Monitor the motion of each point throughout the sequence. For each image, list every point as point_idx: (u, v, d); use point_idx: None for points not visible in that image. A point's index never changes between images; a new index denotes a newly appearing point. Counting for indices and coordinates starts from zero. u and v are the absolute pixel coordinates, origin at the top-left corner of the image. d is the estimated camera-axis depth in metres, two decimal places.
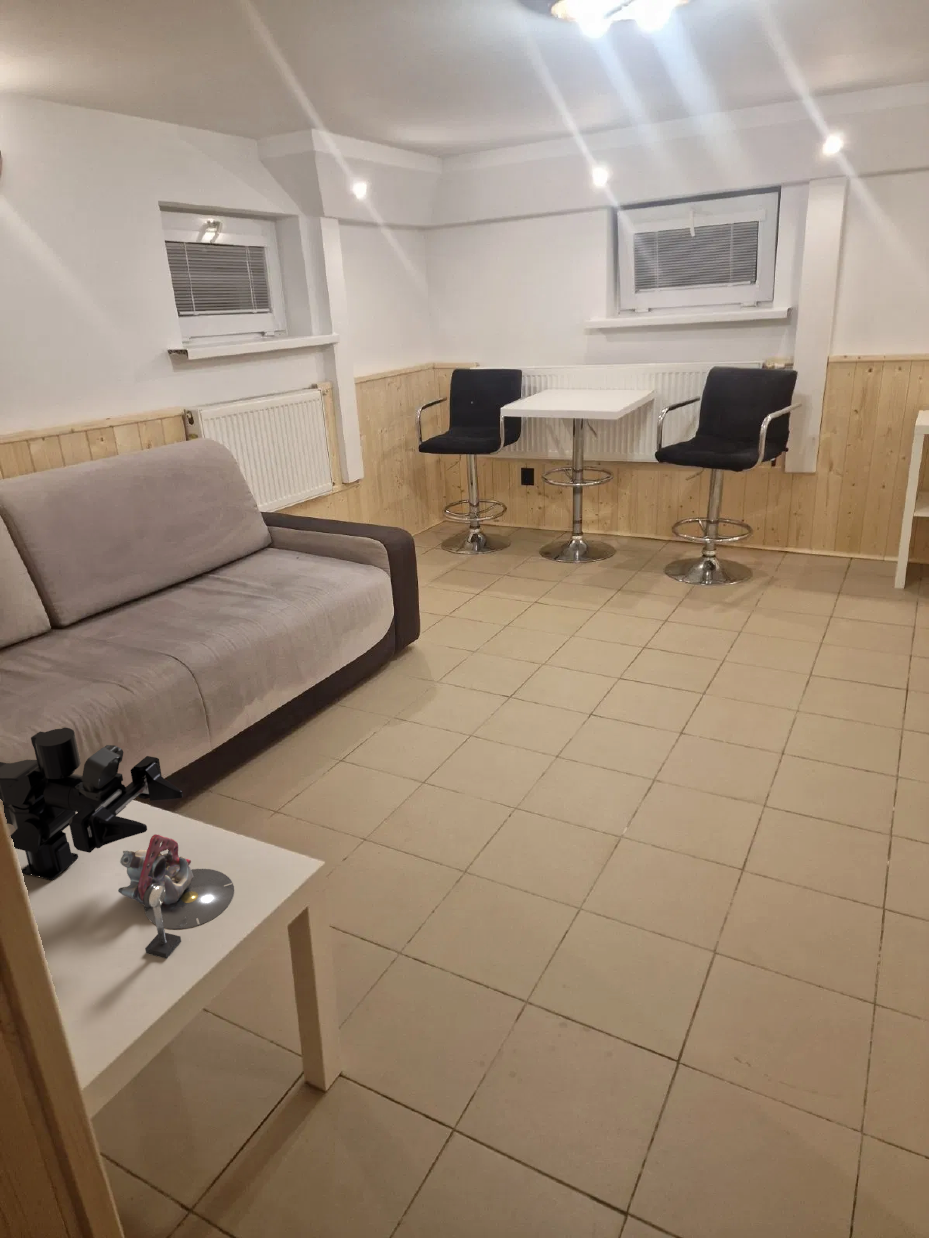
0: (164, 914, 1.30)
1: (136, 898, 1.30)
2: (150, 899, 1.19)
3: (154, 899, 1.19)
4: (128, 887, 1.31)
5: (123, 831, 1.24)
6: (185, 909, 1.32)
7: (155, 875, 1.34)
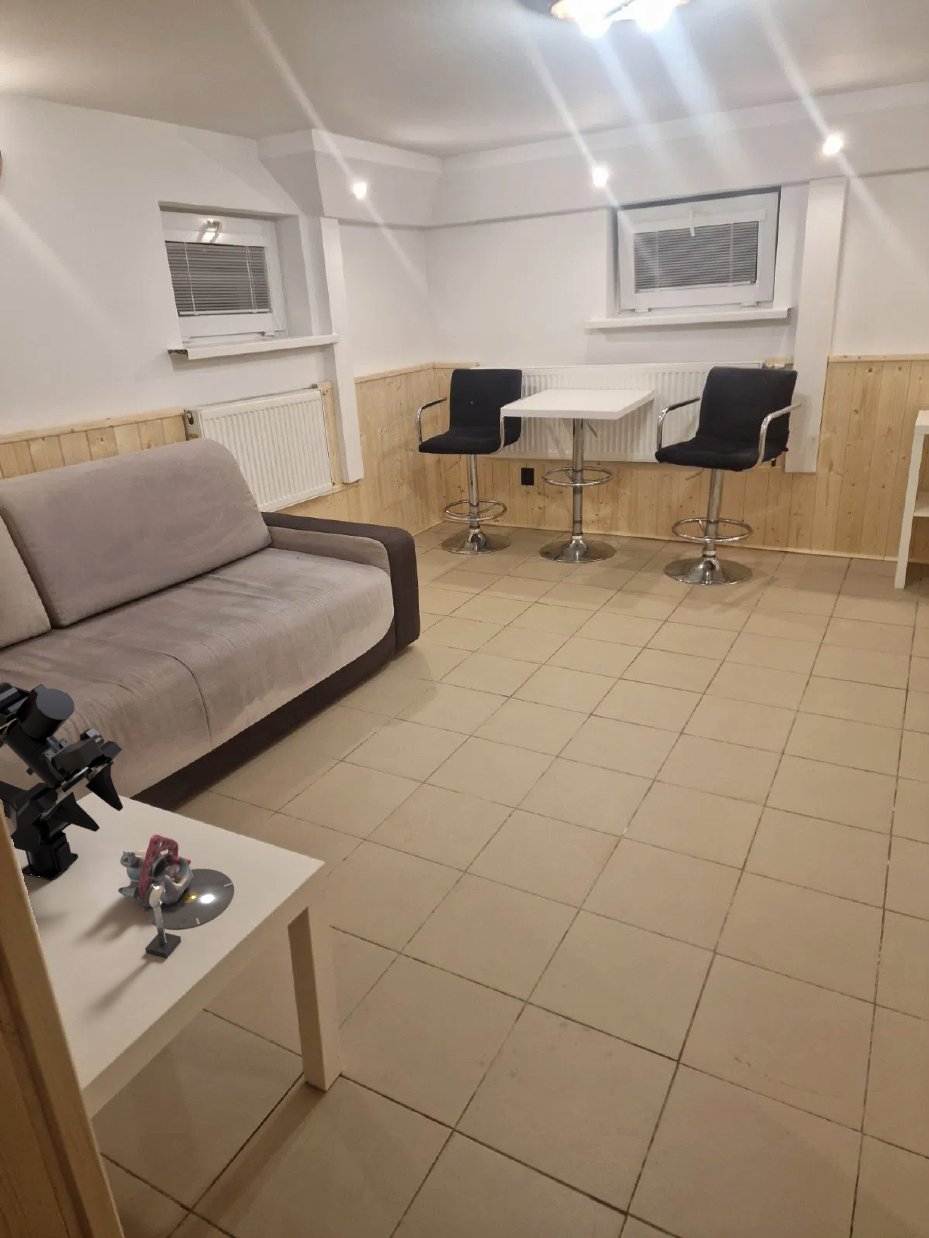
0: (164, 914, 1.30)
1: (136, 898, 1.30)
2: (150, 899, 1.19)
3: (154, 899, 1.19)
4: (128, 887, 1.31)
5: (76, 820, 1.29)
6: (185, 909, 1.32)
7: (155, 875, 1.34)
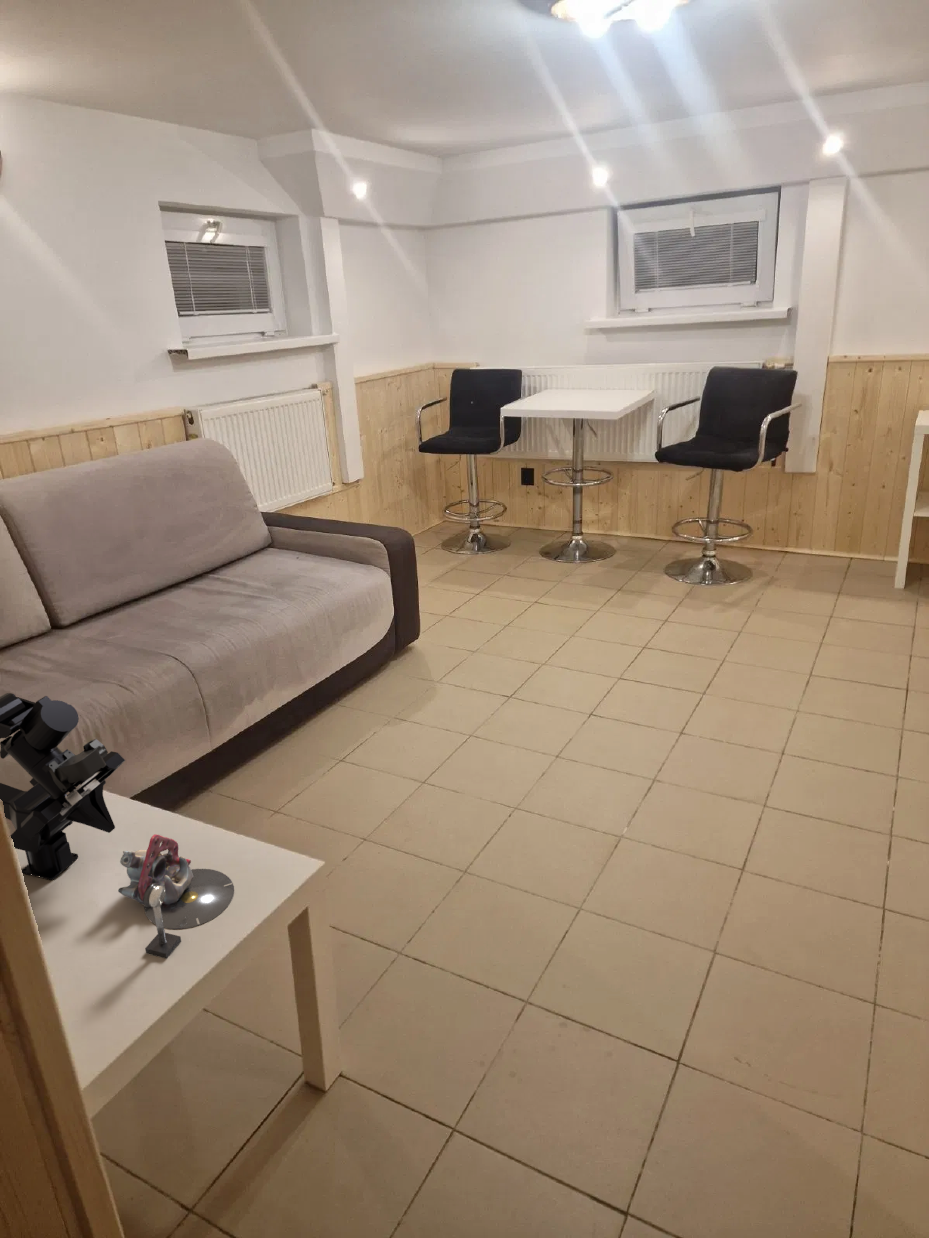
0: (164, 914, 1.30)
1: (136, 898, 1.30)
2: (150, 899, 1.19)
3: (154, 899, 1.19)
4: (128, 887, 1.31)
5: (91, 822, 1.32)
6: (185, 909, 1.32)
7: (155, 875, 1.34)
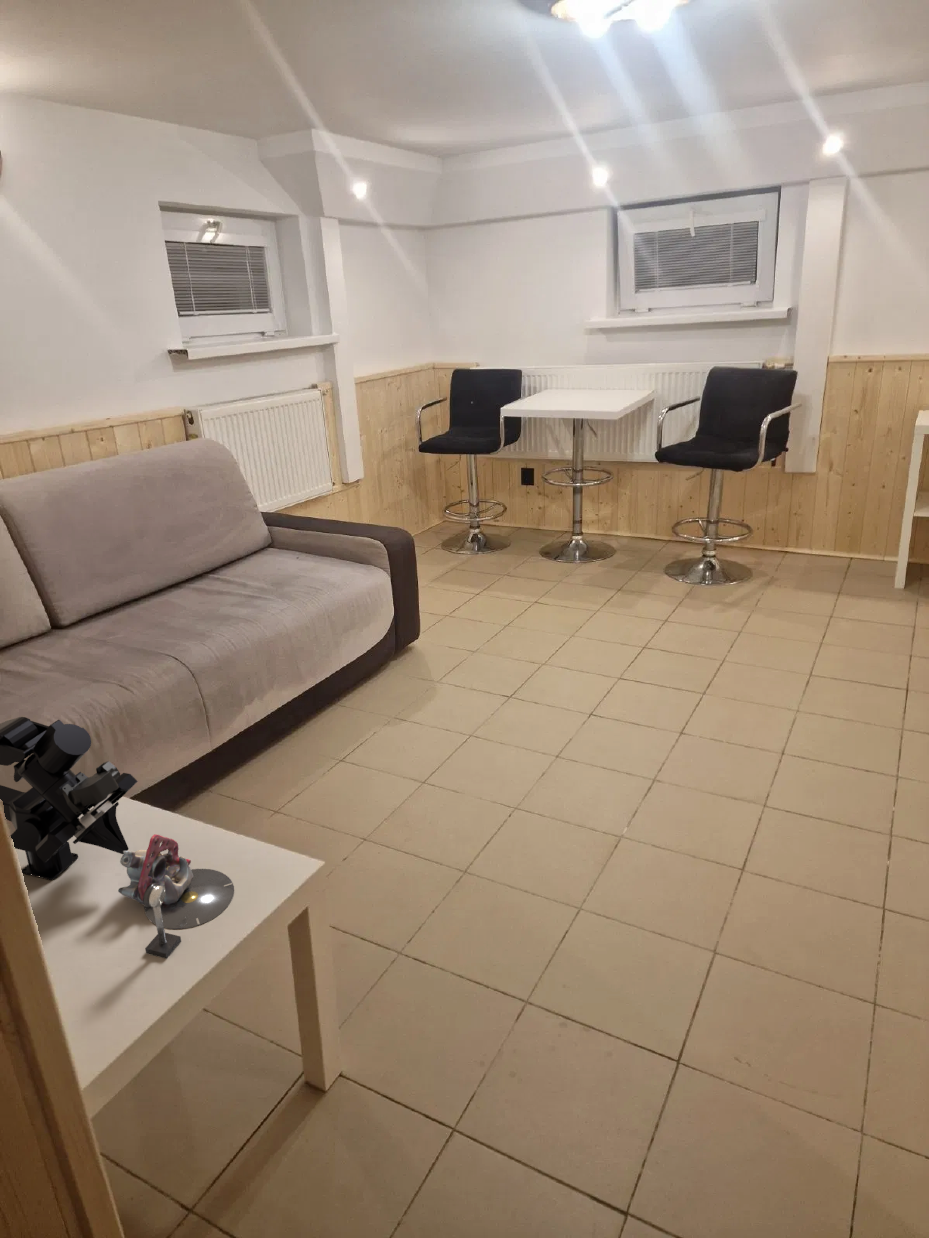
0: (164, 914, 1.30)
1: (136, 898, 1.30)
2: (150, 899, 1.19)
3: (154, 899, 1.19)
4: (128, 887, 1.31)
5: (104, 843, 1.33)
6: (185, 909, 1.32)
7: (155, 875, 1.34)
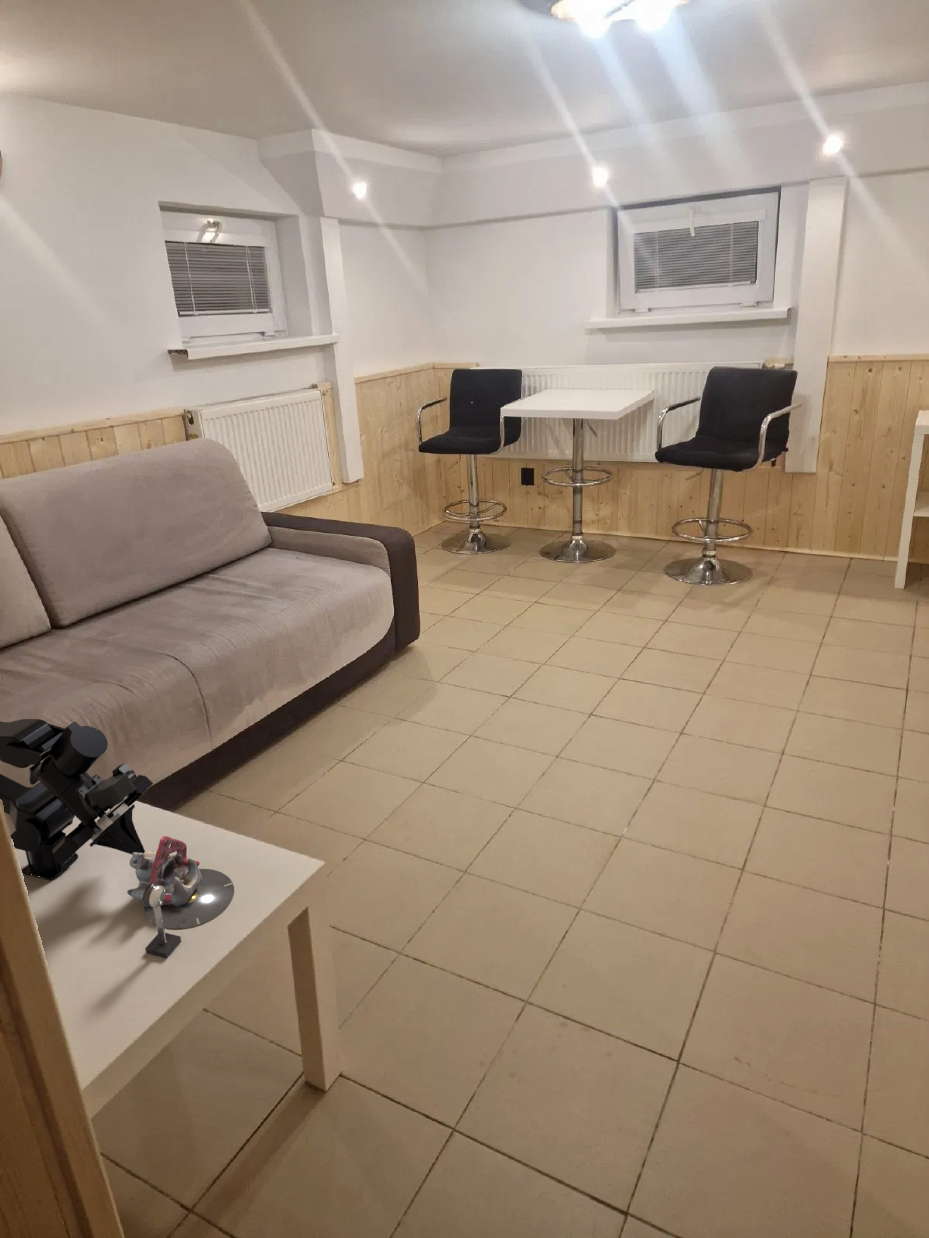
0: (164, 914, 1.30)
1: None
2: (150, 899, 1.19)
3: (154, 899, 1.19)
4: (137, 889, 1.31)
5: (121, 846, 1.32)
6: (185, 909, 1.32)
7: (163, 877, 1.34)
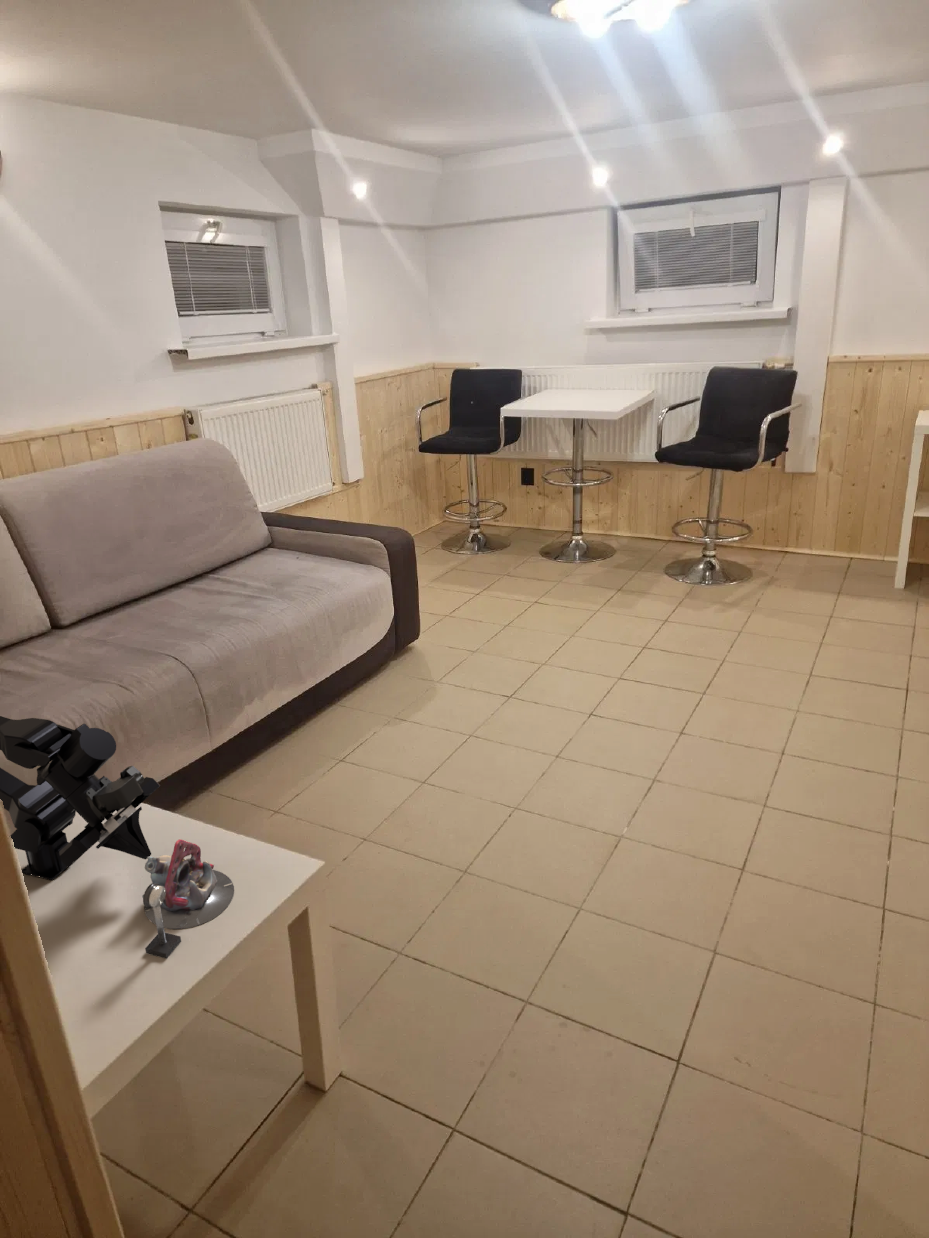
0: (164, 914, 1.30)
1: (161, 904, 1.29)
2: (150, 899, 1.19)
3: (154, 899, 1.19)
4: None
5: (127, 848, 1.32)
6: (185, 909, 1.32)
7: (178, 880, 1.33)
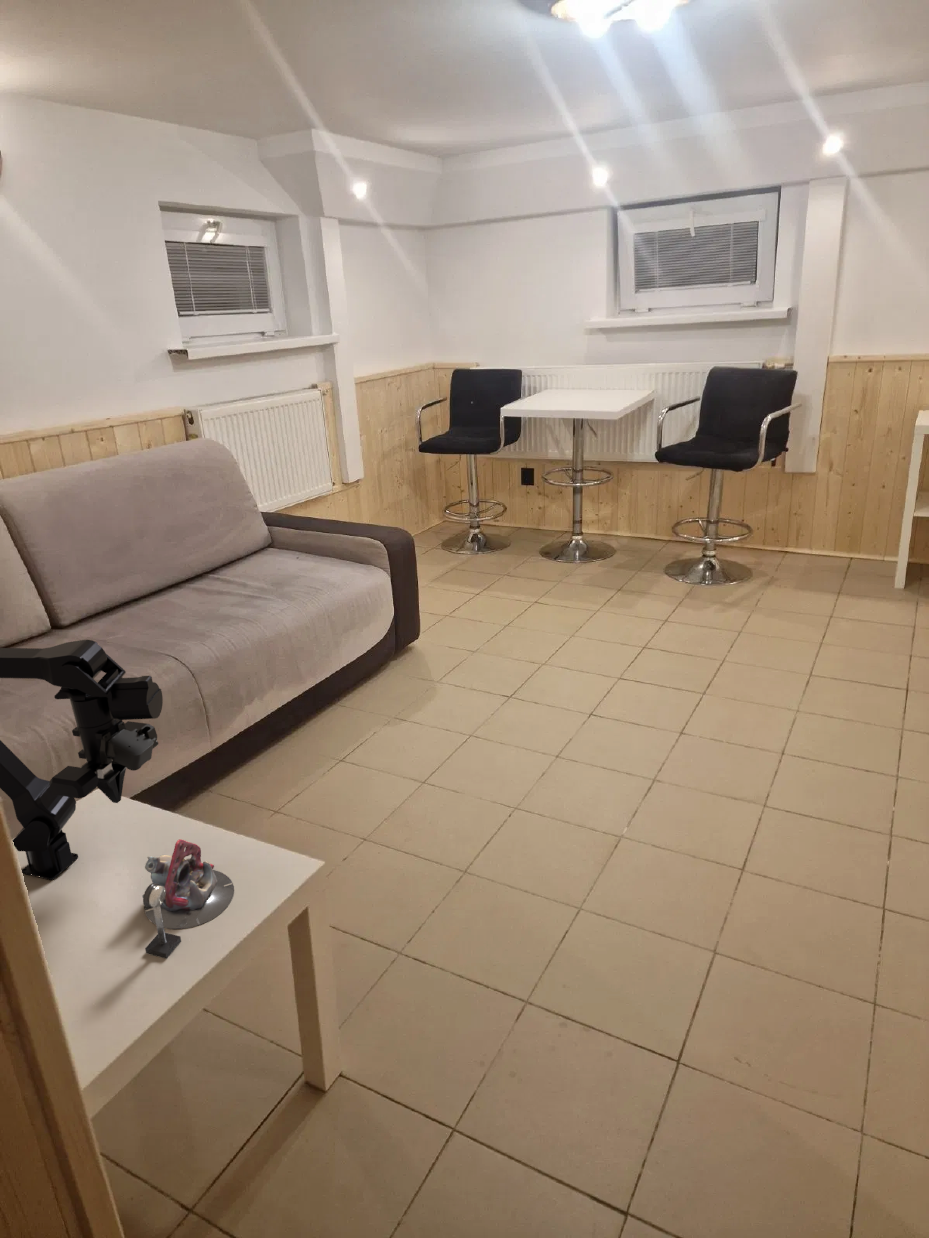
0: (164, 914, 1.30)
1: (161, 904, 1.29)
2: (150, 899, 1.19)
3: (154, 899, 1.19)
4: None
5: (104, 789, 1.34)
6: (185, 909, 1.32)
7: (178, 880, 1.33)
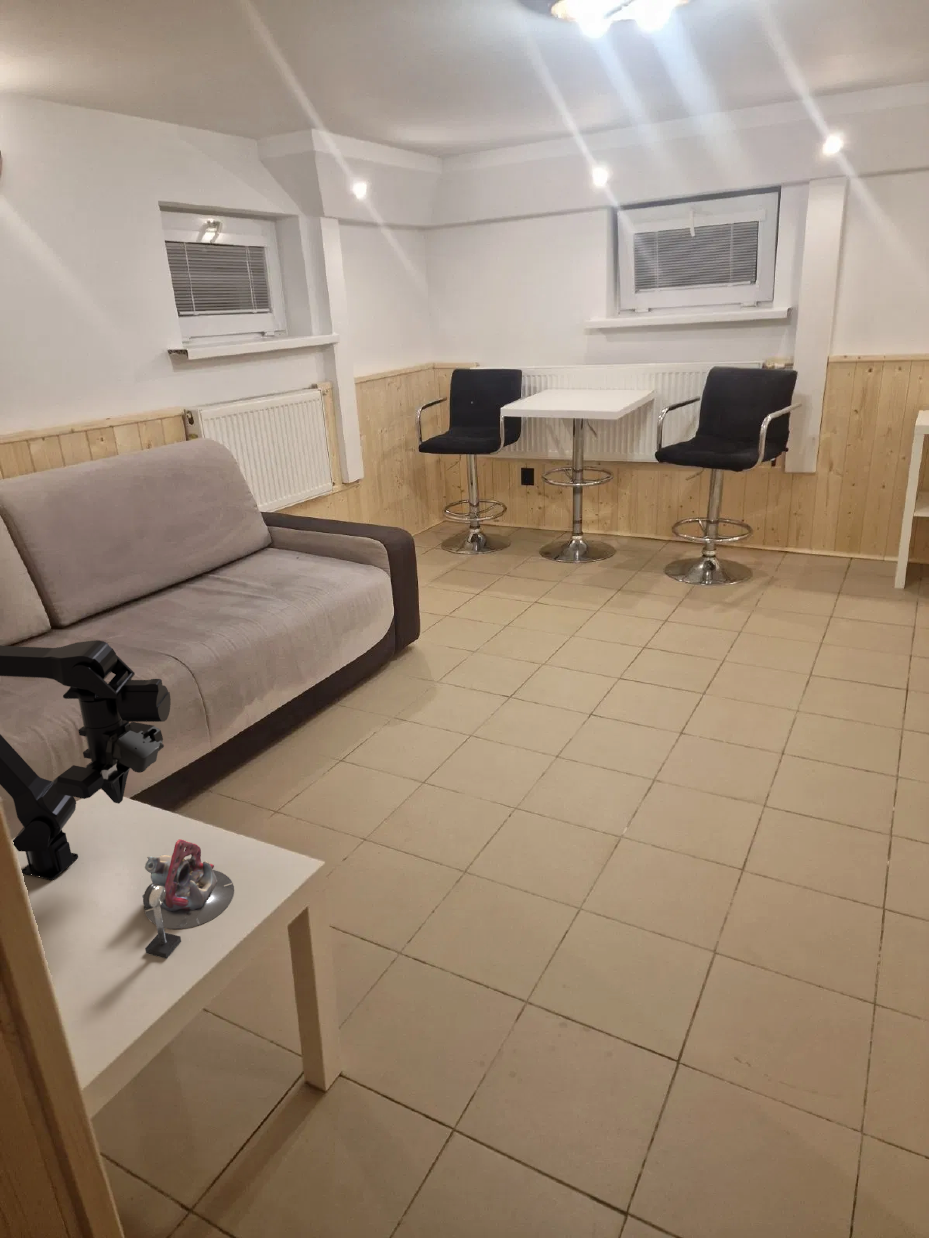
0: (164, 914, 1.30)
1: (161, 904, 1.29)
2: (150, 899, 1.19)
3: (154, 899, 1.19)
4: None
5: (107, 789, 1.34)
6: (185, 909, 1.32)
7: (178, 880, 1.33)
